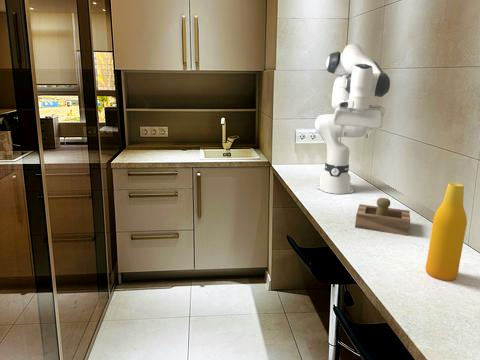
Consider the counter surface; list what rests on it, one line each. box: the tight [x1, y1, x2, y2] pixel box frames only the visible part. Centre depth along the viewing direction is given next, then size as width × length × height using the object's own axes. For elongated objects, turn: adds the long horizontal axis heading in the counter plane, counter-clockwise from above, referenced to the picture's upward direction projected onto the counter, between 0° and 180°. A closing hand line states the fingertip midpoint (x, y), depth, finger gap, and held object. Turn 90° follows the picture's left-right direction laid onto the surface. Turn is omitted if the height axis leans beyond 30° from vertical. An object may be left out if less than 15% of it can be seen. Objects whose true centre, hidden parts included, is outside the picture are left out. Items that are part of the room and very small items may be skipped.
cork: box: [375, 197, 391, 216], centre depth 178 cm, size 6×6×11 cm
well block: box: [354, 203, 411, 236], centre depth 179 cm, size 15×20×6 cm
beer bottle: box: [425, 182, 468, 281], centre depth 134 cm, size 9×9×29 cm
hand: (355, 137), depth 188 cm, fingers open, 8 cm apart
